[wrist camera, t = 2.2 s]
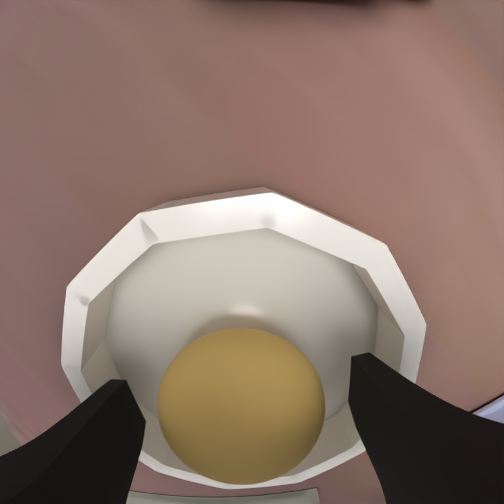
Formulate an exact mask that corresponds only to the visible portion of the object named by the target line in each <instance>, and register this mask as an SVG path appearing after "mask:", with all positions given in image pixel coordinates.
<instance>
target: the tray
mask: <svg viewBox="0 0 504 504" xmlns="http://www.w3.org/2000/svg"><path fill="white" fill-rule="evenodd" d="M126 504H320V501H319V497H318V492H317V488H314V489H308V490H302V491H295V492H288V493H281V494H272V495H261V496H247V497H182V496H168V495H158V494H149V493H142V492H135V491H129V493H128V497H127V502H126Z"/></svg>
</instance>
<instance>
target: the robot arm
mask: <svg viewBox="0 0 504 504" xmlns="http://www.w3.org/2000/svg"><path fill="white" fill-rule="evenodd" d="M348 403H349V407H350V410H351V414H352V417H353V420H354V423H355V427H356V429H357V431H358V434H359V436H360V438H361V440H362V442H363V445H364V447H365V449H366V451H367V453H368V456H369V458H370V460H371V462H372V465H373V467H374V469H375V471H376V473H377V476H378V478H379V481H380V483H381V486H382V489H383V492H384V496H385V499H386V503H387V504H504V395H503V396H502V397H500V398H498V399H497V400H495V401H493V402H492V403H490V404H488V405H486V406H484V407H483V408H481V409H479V410H477V411H475V412H473V413H470V412H468V411H465V410H463V409H461V408H458V407H456V406H454V405H452V404H450V403H448V402H446V401H444V400H442V399H440V398H438V397H437V396H435V395H433V394H431V393H429V392H428V391H426V390H424V389H423V388H421V387H419V386H418V385H416V384H415V383H413V382H412V381H410V380H408V379H407V378H405V377H404V376H403V375H401V374H400V373H398V372H397V371H395V370H394V369H392V368H391V367H390V366H388V365H387V364H385V363H384V362H383V361H381V360H380V359H378V358H377V357H376V356H374V355H373V354H371V353H370V352H368V353H364V354H359V355H355V356H351V369H350V384H349V396H348ZM145 426H146V420H145V418H144V416H143V414H142V412H141V410H140V408H139V406H138V404H137V402H136V400H135V398H134V396H133V394H132V391H131V389H130V387H129V385H128V383H127V380H121V379H111V380H109V381H108V382H106V383H105V384H104V385H102V386H101V387H100V388H99V389H98V390H96V391H95V392H94V393H93V394H92V395H90V396H89V397H88V398H87V399H86V400H84V401H83V402H82V403H81V404H80V405H79V406H77V407H76V408H75V409H74V410H73V411H71V412H70V413H69V414H68V415H67V416H65V417H64V418H63V419H61V420H60V421H59V422H57V423H56V424H55V425H53V426H52V427H51V428H49V429H48V430H47V431H45V432H44V433H42V434H41V435H40V436H38V437H36V438H35V439H33V440H32V441H30V442H28V443H27V444H25V445H23V446H21V447H19V448H17V449H15V450H13V451H11V452H9V453H7V454H5V455H2V456H0V504H126V502H127V497H128V493H129V490H130V486H131V483H132V480H133V476H134V473H135V470H136V466H137V463H138V459H139V456H140V453H141V449H142V446H143V440H144V433H145Z"/></svg>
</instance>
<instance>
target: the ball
mask: <svg viewBox="0 0 504 504" xmlns="http://www.w3.org/2000/svg"><path fill="white" fill-rule="evenodd" d="M157 413H158V419H159V424H160V427H161V430H162V433H163V435H164V438H165V440H166V441H167V443H168V445H169V446H170V448H171V449H172V451H173V452H174V453H175V455H176V456H177V457H178V458H179V459H180V460H181V461H182V462H183V463H184V464H185V465H187V466H188V467H189V468H191V469H192V470H194V471H195V472H197V473H198V474H200V475H202V476H204V477H207V478H209V479H212V480H214V481H218V482H221V483H226V484H233V485H251V484H258V483H263V482H266V481H269V480H272V479H275V478H278V477H280V476H282V475H284V474H286V473H287V472H289V471H290V470H292V469H293V468H295V467H296V466H297V465H298V464H300V463H301V462H302V461H303V460H304V459H305V458H306V457H307V455H308V454H309V453H310V452H311V450H312V449H313V447H314V446H315V444H316V442H317V440H318V438H319V436H320V433H321V430H322V428H323V424H324V418H325V395H324V391H323V387H322V383H321V381H320V378H319V376H318V374H317V372H316V370H315V368H314V367H313V365H312V364H311V363H310V361H309V360H308V359H307V357H306V356H305V355H304V354H303V353H302V352H301V351H300V350H299V349H297V348H296V347H295V346H294V345H292V344H291V343H289V342H288V341H286V340H284V339H283V338H281V337H279V336H276V335H274V334H271V333H269V332H265V331H262V330H257V329H251V328H230V329H224V330H219V331H216V332H212V333H210V334H207V335H205V336H202V337H200V338H198V339H197V340H195V341H193V342H192V343H191V344H189V345H188V346H187V347H185V348H184V349H183V350H182V351H181V352H180V353H179V354H178V355H177V356H176V357H175V358H174V359H173V361H172V362H171V363H170V365H169V366H168V368H167V370H166V372H165V374H164V376H163V378H162V381H161V384H160V388H159V393H158V400H157Z"/></svg>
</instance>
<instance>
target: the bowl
mask: <svg viewBox="0 0 504 504" xmlns="http://www.w3.org/2000/svg"><path fill="white" fill-rule="evenodd" d="M230 328H251V329H257V330H262V331H265V332H269V333H271V334H274V335H276V336H279V337H281V338H283V339H284V340H286V341H288V342H289V343H291V344H292V345H294V346H295V347H296V348H297V349H299V350H300V351H301V352H302V353H303V354H304V355H305V356H306V357H307V359H308V360H309V361H310V363H311V364H312V365H313V367H314V368H315V370H316V372H317V374H318V376H319V378H320V381H321V383H322V387H323V391H324V395H325V418H324V424H323V428H322V430H321V433H320V436H319V438H318V440H317V442H316V444H315V446H314V447H313V449H312V450H311V452H310V453H309V454H308V455H307V457H306V458H305V459H304V460H303V461H302V462H301V463H300V464H298V465H297V466H296V467H295V468H293V469H292V470H290V471H289V472H287V473H286V474H284V475H282V476H280V477H278V478H275V479H272V480H269V481H266V482H263V483H258V484H251V485H233V484H226V483H221V482H218V481H214V480H212V479H209V478H207V477H204V476H202V475H200V474H198V473H197V472H195V471H194V470H192V469H191V468H189V467H188V466H187V465H185V464H184V463H183V462H182V461H181V460H180V459H179V458H178V457H177V456H176V455H175V453H174V452H173V451H172V449H171V448H170V446H169V445H168V443H167V441H166V440H165V438H164V435H163V433H162V430H161V427H160V424H159V419H158V413H157V400H158V393H159V388H160V384H161V381H162V378H163V376H164V374H165V372H166V370H167V368H168V366H169V365H170V363H171V362H172V361H173V359H174V358H175V357H176V356H177V355H178V354H179V353H180V352H181V351H182V350H183V349H184V348H185V347H187V346H188V345H189V344H191V343H192V342H193V341H195V340H197V339H198V338H200V337H202V336H205V335H207V334H210V333H212V332H216V331H219V330H224V329H230ZM425 331H426V322H425V320H424V318H423V316H422V314H421V312H420V309H419V307H418V305H417V303H416V301H415V299H414V297H413V295H412V293H411V291H410V289H409V287H408V285H407V283H406V281H405V279H404V277H403V275H402V273H401V271H400V269H399V267H398V266H397V264H396V262H395V260H394V258H393V256H392V255H391V253H390V251H389V249H388V247H387V246H386V244H384V243H383V242H381V241H379V240H377V239H375V238H374V237H372V236H370V235H368V234H366V233H364V232H363V231H361V230H359V229H357V228H355V227H353V226H352V225H350V224H347V223H345V222H343V221H341V220H339V219H337V218H335V217H333V216H330V215H328V214H326V213H324V212H322V211H319V210H317V209H315V208H313V207H311V206H308V205H306V204H304V203H301V202H299V201H297V200H295V199H292V198H290V197H288V196H285V195H283V194H281V193H278V192H276V191H274V190H271V189H269V188H266V187H258V188H251V189H243V190H236V191H229V192H222V193H216V194H209V195H203V196H197V197H191V198H185V199H179V200H173V201H168V202H165V203H163V204H160V205H158V206H155V207H153V208H150V209H148V210H146V211H143V212H141V213H139V214H138V215H136V216H135V217H134V218H133V219H132V220H131V221H130V222H129V223H128V224H127V225H126V226H125V227H124V228H123V229H122V230H121V231H120V232H119V233H118V234H117V235H116V236H115V237H114V238H113V239H112V240H111V241H110V242H109V243H108V244H107V245H106V246H105V247H104V248H103V249H102V250H101V251H100V252H99V253H98V254H97V255H96V256H95V257H94V258H93V259H92V260H91V261H90V262H89V263H88V264H87V265H86V266H85V267H84V268H83V269H82V271H81V272H80V273H79V274H78V275H77V276H76V277H75V278H74V279H73V280H72V281H71V283H70V284H69V285H68V286H67V291H66V300H65V309H64V320H63V334H62V355H61V366H62V368H63V370H64V372H65V374H66V376H67V378H68V380H69V382H70V384H71V386H72V387H73V389H74V391H75V393H76V395H77V397H78V398H79V400H80V402H81V403H82V402H83V401H84V400H86V399H87V398H88V397H89V396H90V395H92V394H93V393H94V392H95V391H96V390H98V389H99V388H100V387H101V386H102V385H104V384H105V383H106V382H108V381H109V380H111V379H121V380H127V383H128V385H129V387H130V389H131V391H132V394H133V396H134V398H135V400H136V402H137V404H138V406H139V408H140V410H141V412H142V414H143V416H144V418H145V420H146V426H145V433H144V440H143V446H142V449H141V453H140V456H139V459H138V460H140V461H141V462H143V463H144V464H146V465H147V466H149V467H150V468H152V469H154V470H155V471H157V472H160V473H164V474H167V475H170V476H174V477H177V478H181V479H184V480H188V481H192V482H196V483H200V484H204V485H209V486H214V487H218V488H223V489H242V488H257V487H268V486H277V485H285V484H292V483H299V482H301V481H304V480H306V479H309V478H311V477H313V476H316V475H318V474H320V473H322V472H325V471H327V470H329V469H331V468H333V467H335V466H337V465H339V464H341V463H343V462H345V461H347V460H349V459H351V458H353V457H355V456H357V455H359V454H361V453H362V452H364V451H365V450H366V449H365V447H364V445H363V442H362V440H361V438H360V436H359V434H358V431H357V429H356V427H355V423H354V420H353V417H352V414H351V410H350V407H349V403H348V396H349V384H350V369H351V356H355V355H359V354H364V353H368V352H370V353H371V354H373V355H374V356H376V357H377V358H378V359H380V360H381V361H383V362H384V363H385V364H387V365H388V366H390V367H391V368H392V369H394V370H395V371H397V372H398V373H400V374H401V375H403V376H404V377H405V378H407V379H408V380H410V381H412V382H413V383H415V382H416V378H417V373H418V369H419V364H420V359H421V354H422V349H423V343H424V337H425Z"/></svg>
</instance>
